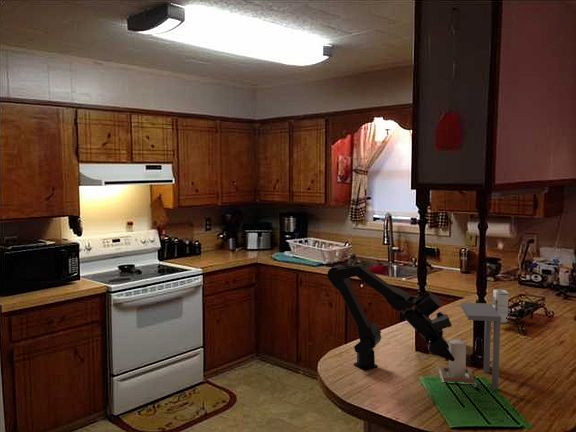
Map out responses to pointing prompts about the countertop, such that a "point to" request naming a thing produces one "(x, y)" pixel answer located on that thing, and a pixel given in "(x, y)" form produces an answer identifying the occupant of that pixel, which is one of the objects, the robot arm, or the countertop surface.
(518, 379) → the countertop surface
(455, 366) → the ceramic jar
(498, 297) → the syrup box
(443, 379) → the shelf
